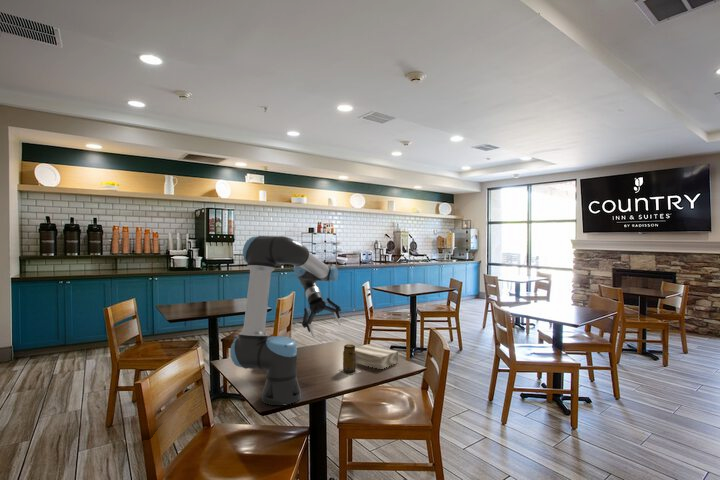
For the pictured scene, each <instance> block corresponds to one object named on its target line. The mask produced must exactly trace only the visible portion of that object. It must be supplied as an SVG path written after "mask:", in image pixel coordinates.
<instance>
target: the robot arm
mask: <svg viewBox="0 0 720 480" xmlns="http://www.w3.org/2000/svg"><path fill="white" fill-rule="evenodd" d="M242 257H243V261H244V262H245V263H246V265H247V266H246V267H247V269H249V277H248V278H249V279H248V287H247V296H246V297H247V298H246V304H245V312H244V313H245V314H244V321H243V328H242V330H241V331H240V332H238V337H236V338H235V339H234V340H233V341H232V343H231V345H230V359H231V361H232V362H233V364H234V365H235V366H236V367H239V368H243V369H245V370H246V369H251V370H259V371H265V372H266V380H265V383H264V386H263V389H262V393H261V402H262V401H263V402H264V403H263V402H262V403H263V404H265V403H266V404H265V405H267V404H269V405H268V406H270V405H283V404H290V405H292V404H291V403H293V404H295V403H297V402H299V401H300V400H301V398H302V392H301V391H302V390H301V388H300V384H299V381H298V377H297V373H298V372H297V368H298V367H297V364H298V363H297V362H298V360H297V359H298V358H297V357H298V356H297V355H298V351H297V343H296V341H295V340H294V338H293V339H292V338H291V337H287V336H283V335H281V336H280V335H277V336H276V335H275V336H274V335H273V336H270V337H269V334H268V333H267V332H266V324H267V323H266V322H267V316H268V315H267V313H268V304H269V295H270V286H271V278H272V277H271V276H272V272H274V271H275V270H276V265H292V266H294V267H293V271H294V274H295V276H296V277H297V279H298V280H299V282H300V284H301V286H302V288H303V291H304V293H305V296H306V299H307V303H308V305H309V307H308V308H307V307H305V308H304V309H303V311H304V314H303V318H302V322H301V323H302V324H301V326H302V327H303V328H304V329H307V331H308V332H309V333H310V335H311V337H312V338H315V333H314V330H313V327H312V322H313V320H314V318H315V316H316V315H317V314H319V313H321V312H323V311H328V312H331V313H333V314H334V317H335V319H336V322H337V324H338V326H341V322H340V319H341V315H340V313H339V312H341V311H342V308H341V307H340V306H339V305H337V304H336V303H335V302H334V301H332V300H330V298H329V297H326V299H325V300H324V298H323V295H322V293H321V290H320V288H319V285H318V283H317V282H336V281H337V280H338V277H339V270H338V267H337V266H332V265H331V266H329V265H327V264H326V263H324V262H323V261H322V260H320V259H319V258H317V257H316V256H315V255H314V254H312V253H311V252H310V251H309V248H308V247H307V246H305V245H304V244H302V243H301V242H299V241H297V240H295V239H293V238H291V237H288V236H284V235H283V236H282V235H279V236H274V235H257V236H251V237H249V238H248V239H247V240H246V242H245V243H244V244H243V248H242ZM327 304H328V305H330V306H328V305H327ZM298 400H299V401H298ZM294 402H295V403H294Z"/></svg>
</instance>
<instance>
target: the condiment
mask: <svg viewBox="0 0 720 480" xmlns="http://www.w3.org/2000/svg"><path fill="white" fill-rule="evenodd" d="M355 348H356V346H355V344H350V343H349V344H345V345H344V346H343V352H342V368H341V369H339V371H340V372H342V373H344V374H347V375H355V374H359V373H361V372H362V371H361V370H358V369H357V368H356V367H357V366H356V364H357V363H356V351H355Z"/></svg>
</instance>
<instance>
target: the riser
mask: <svg viewBox="0 0 720 480" xmlns="http://www.w3.org/2000/svg"><path fill="white" fill-rule="evenodd" d="M355 351H356V364H359V365H361V366H362V365H363V366H366V367H368V366H369V368H372V367H373V369H375V368H377V369H376V370H379V369H383V370H385V369H387V368H390V367H392V366H394V365H393V364H395V365H397V364H399V351H398V350H395V349H391V348H386V347H382V346H379V345H373V344H370V343H366V344H364V345H361V346H358V347H357V346H356V347H355ZM396 363H397V364H396ZM391 365H392V366H391ZM389 366H390V367H389ZM386 367H387V368H386ZM384 368H385V369H384Z"/></svg>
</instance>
